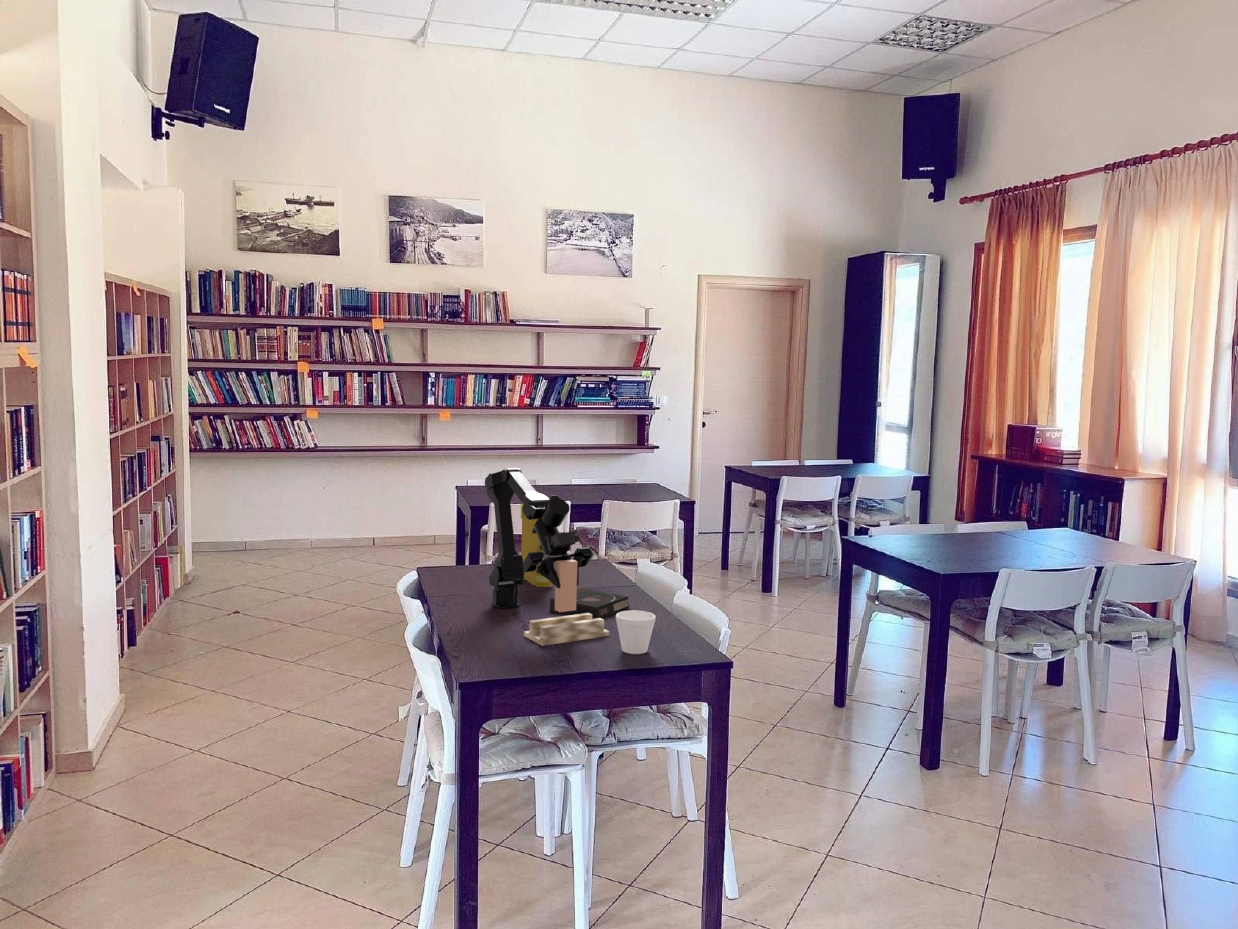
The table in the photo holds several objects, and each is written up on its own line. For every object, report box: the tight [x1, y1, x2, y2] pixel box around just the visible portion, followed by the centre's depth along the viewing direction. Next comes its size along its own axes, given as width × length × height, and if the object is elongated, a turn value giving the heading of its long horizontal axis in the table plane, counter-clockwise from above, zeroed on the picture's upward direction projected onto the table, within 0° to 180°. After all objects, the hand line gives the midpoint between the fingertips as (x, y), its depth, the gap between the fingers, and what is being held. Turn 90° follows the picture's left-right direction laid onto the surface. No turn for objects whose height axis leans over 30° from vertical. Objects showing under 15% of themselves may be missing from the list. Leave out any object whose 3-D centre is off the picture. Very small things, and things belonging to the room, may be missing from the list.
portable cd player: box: [549, 587, 631, 619], centre depth 272 cm, size 16×17×4 cm
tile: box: [554, 560, 578, 613], centre depth 242 cm, size 2×5×13 cm, turn 122°
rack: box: [523, 613, 610, 647], centre depth 244 cm, size 20×10×4 cm, turn 123°
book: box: [520, 503, 554, 587], centre depth 304 cm, size 17×7×25 cm, turn 25°
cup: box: [615, 609, 657, 656], centre depth 231 cm, size 10×10×9 cm
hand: (568, 586), depth 241 cm, fingers closed on tile, 5 cm apart
